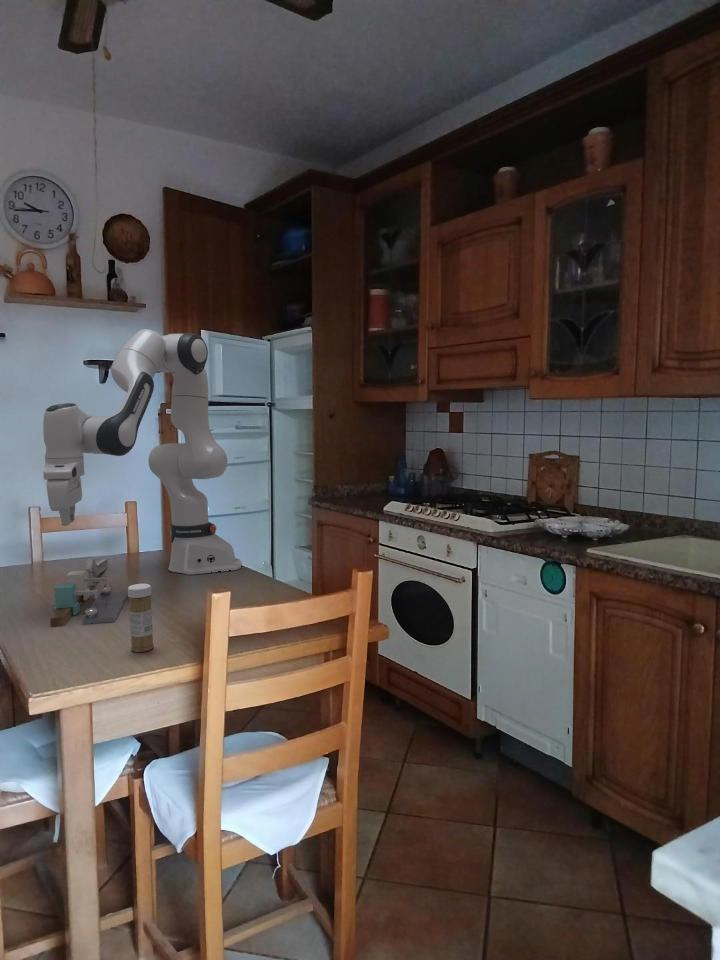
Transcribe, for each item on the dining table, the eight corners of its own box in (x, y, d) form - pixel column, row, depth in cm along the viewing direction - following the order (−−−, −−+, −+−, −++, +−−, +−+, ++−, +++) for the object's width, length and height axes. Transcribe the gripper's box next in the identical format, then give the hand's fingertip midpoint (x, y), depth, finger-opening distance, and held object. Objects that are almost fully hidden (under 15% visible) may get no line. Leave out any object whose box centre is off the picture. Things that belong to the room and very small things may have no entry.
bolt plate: (128, 595, 183) (127, 585, 182) (114, 622, 159) (113, 610, 159) (100, 596, 181) (100, 586, 181) (82, 624, 158) (82, 612, 158)
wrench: (108, 576, 216) (92, 589, 187) (102, 576, 216) (85, 590, 186) (107, 550, 216) (91, 560, 187) (101, 551, 216) (84, 560, 187)
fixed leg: (108, 594, 182) (107, 569, 182) (106, 598, 178) (104, 573, 178) (68, 597, 180) (67, 571, 180) (65, 601, 176) (63, 575, 176)
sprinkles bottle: (146, 643, 144) (143, 581, 143) (158, 648, 141) (155, 585, 140) (126, 649, 141) (123, 586, 140) (137, 654, 138) (134, 589, 136)
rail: (84, 598, 180) (84, 590, 180) (64, 625, 157) (64, 617, 157) (72, 598, 180) (72, 591, 179) (50, 626, 157) (50, 618, 157)
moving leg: (100, 608, 170) (98, 581, 169) (97, 613, 166) (95, 585, 165) (57, 611, 168) (55, 584, 167) (53, 616, 164) (51, 588, 163)
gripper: (61, 465, 179) (64, 517, 181) (41, 473, 159) (44, 531, 161) (86, 465, 180) (89, 516, 182) (69, 472, 161) (73, 530, 162)
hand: (68, 523), depth 171 cm, fingers open, 3 cm apart
